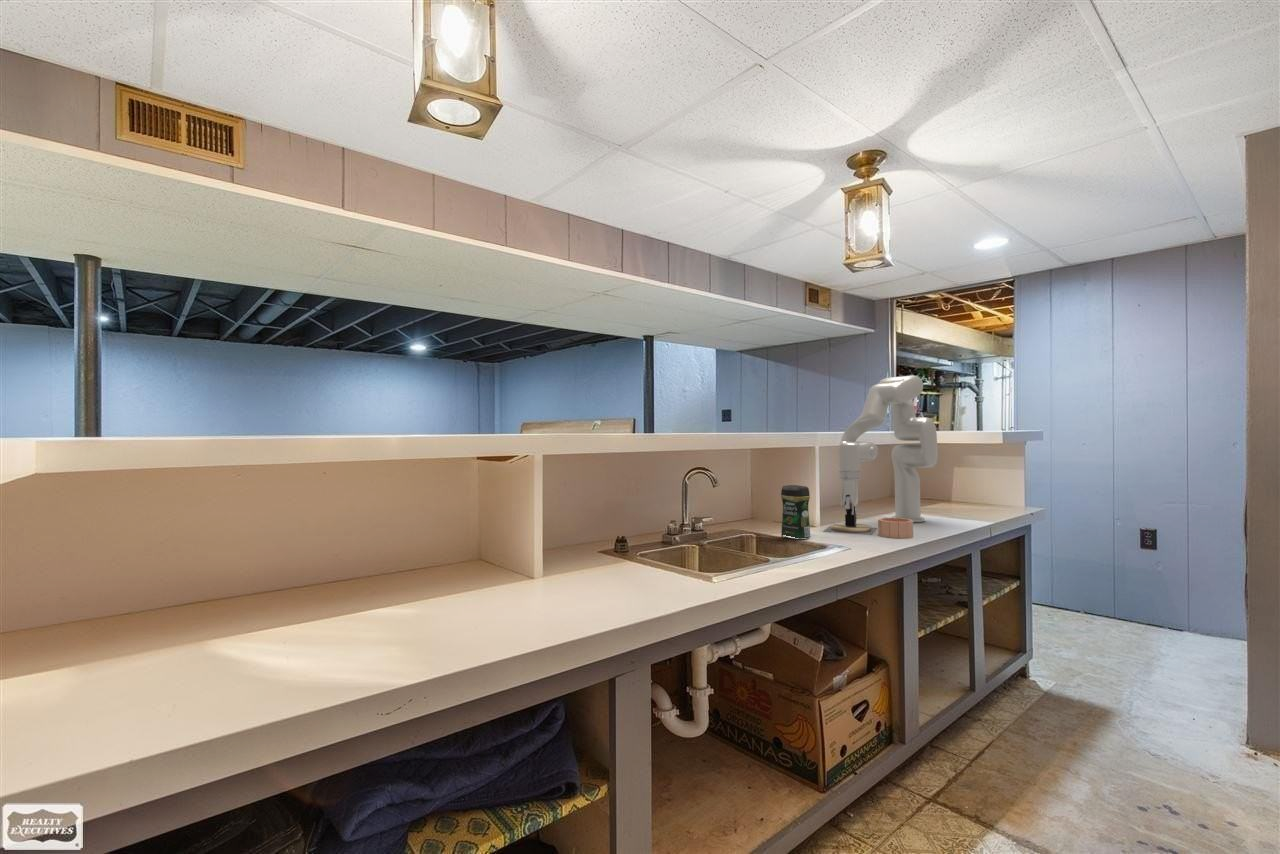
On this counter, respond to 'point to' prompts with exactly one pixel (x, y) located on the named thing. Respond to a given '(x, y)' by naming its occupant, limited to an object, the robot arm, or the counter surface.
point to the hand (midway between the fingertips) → (850, 524)
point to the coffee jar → (795, 511)
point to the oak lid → (851, 527)
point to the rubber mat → (852, 532)
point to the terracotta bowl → (895, 527)
